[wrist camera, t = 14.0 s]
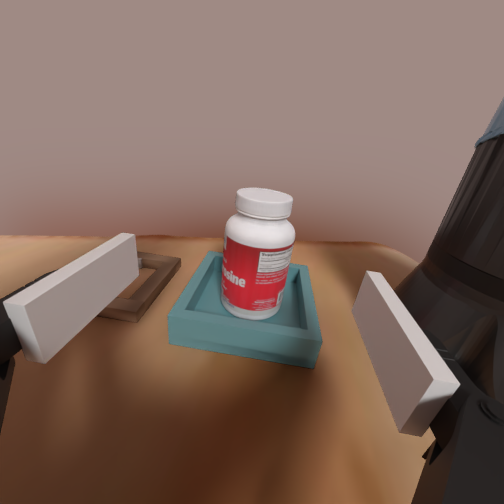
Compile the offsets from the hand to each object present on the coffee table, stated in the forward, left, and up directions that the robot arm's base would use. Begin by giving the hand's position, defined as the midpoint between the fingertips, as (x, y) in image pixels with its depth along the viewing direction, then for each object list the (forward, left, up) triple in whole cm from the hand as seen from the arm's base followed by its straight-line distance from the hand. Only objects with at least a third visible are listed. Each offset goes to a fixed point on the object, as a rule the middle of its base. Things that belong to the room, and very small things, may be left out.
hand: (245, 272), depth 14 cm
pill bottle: (0, -8, -8) cm, 12 cm away
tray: (0, -8, -9) cm, 12 cm away
